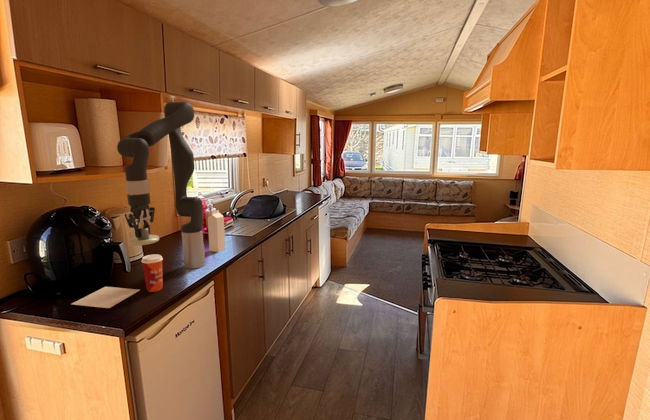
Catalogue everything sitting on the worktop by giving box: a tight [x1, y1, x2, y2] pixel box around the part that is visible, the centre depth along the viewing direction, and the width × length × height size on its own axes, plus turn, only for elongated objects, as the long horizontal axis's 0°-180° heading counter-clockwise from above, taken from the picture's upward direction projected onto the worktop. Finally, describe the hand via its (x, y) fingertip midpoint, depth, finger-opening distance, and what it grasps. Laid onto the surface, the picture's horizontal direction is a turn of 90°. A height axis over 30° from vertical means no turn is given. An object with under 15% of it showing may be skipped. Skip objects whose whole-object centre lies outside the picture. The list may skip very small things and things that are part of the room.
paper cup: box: [140, 253, 164, 293], centre depth 139 cm, size 8×8×14 cm
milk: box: [207, 209, 226, 253], centre depth 191 cm, size 6×6×22 cm
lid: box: [126, 226, 160, 247], centre depth 135 cm, size 11×11×5 cm
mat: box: [71, 286, 141, 309], centre depth 133 cm, size 16×16×1 cm
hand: (143, 235), depth 136 cm, fingers closed on lid, 4 cm apart
